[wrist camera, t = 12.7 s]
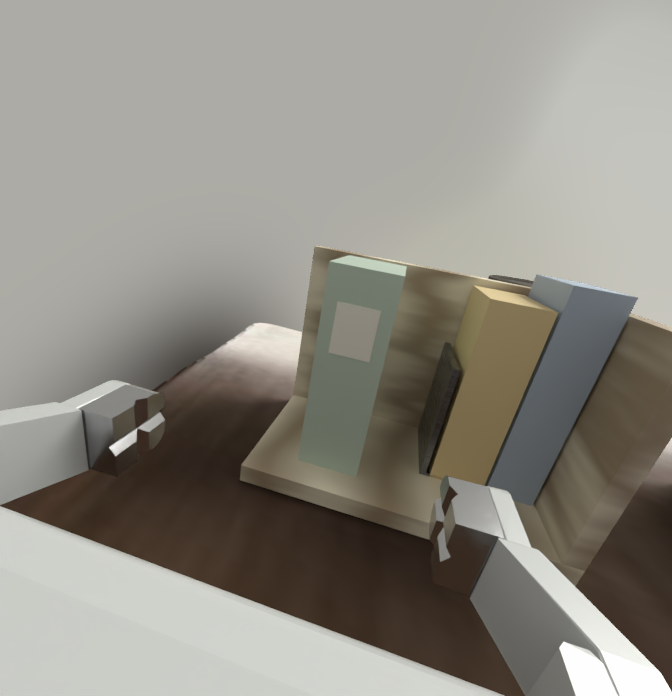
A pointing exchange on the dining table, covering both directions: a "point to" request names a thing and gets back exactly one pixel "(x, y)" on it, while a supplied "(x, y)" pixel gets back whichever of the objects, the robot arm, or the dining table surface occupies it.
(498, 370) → the shelved books
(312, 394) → the boxed book
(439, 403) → the bookend
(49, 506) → the dining table surface
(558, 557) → the shelf
